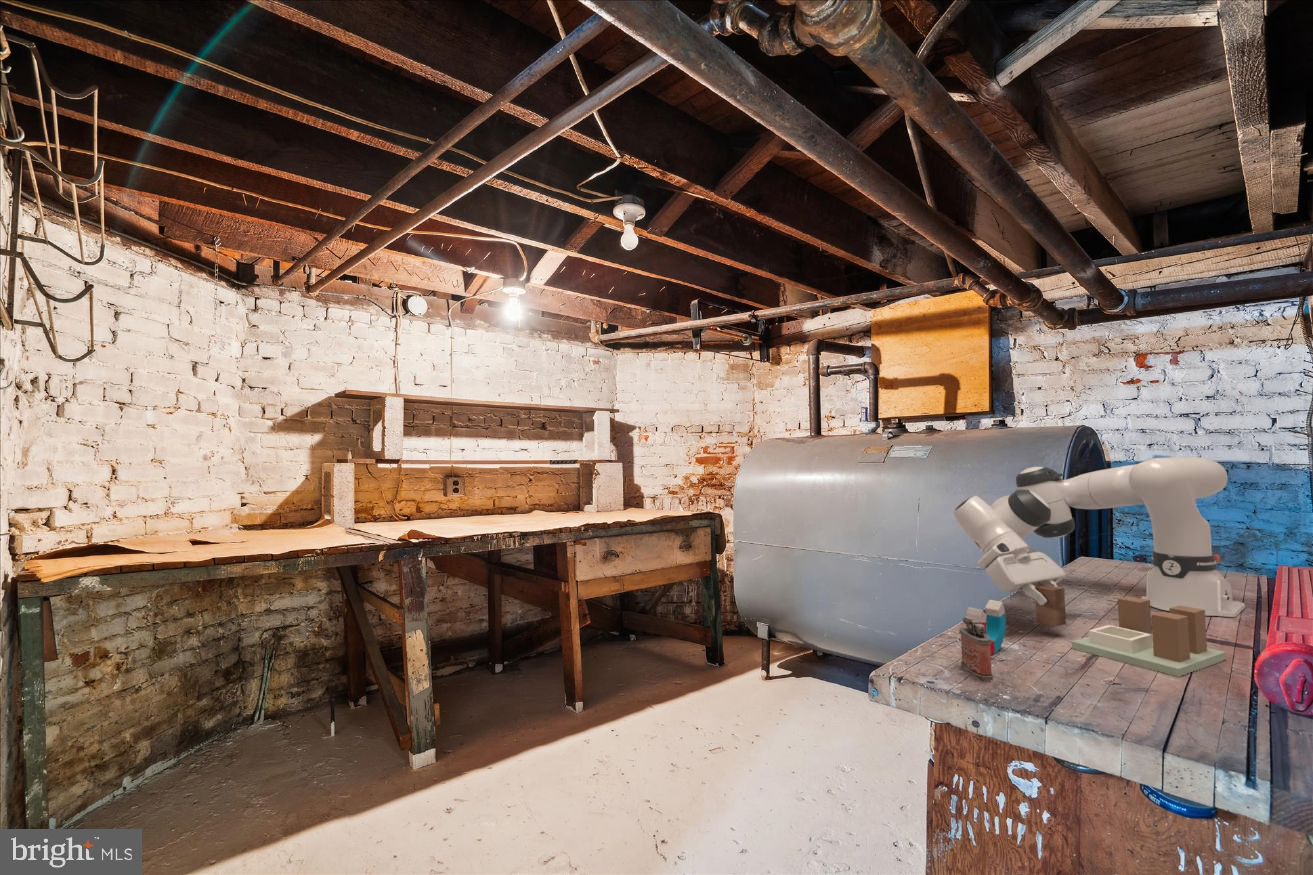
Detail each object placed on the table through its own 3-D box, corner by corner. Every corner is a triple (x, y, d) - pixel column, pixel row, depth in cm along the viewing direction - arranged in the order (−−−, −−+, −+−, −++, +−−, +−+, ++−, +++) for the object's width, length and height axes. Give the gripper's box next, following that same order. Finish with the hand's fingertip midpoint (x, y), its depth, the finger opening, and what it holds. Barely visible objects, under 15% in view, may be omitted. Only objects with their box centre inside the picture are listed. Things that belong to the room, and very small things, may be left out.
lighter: (997, 681, 105) (995, 626, 105) (979, 681, 105) (976, 626, 105) (974, 664, 113) (971, 613, 113) (956, 665, 113) (954, 614, 113)
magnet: (993, 644, 124) (991, 598, 124) (1007, 648, 122) (1005, 600, 122) (967, 657, 117) (964, 608, 117) (981, 660, 115) (978, 610, 115)
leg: (1047, 619, 132) (1045, 584, 132) (1066, 624, 128) (1064, 588, 129) (1036, 622, 130) (1034, 586, 131) (1055, 626, 127) (1053, 590, 127)
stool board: (1119, 634, 128) (1116, 592, 128) (1225, 659, 112) (1222, 610, 112) (1071, 648, 120) (1069, 603, 121) (1179, 677, 104) (1176, 624, 104)
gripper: (1026, 556, 145) (1070, 603, 135) (972, 564, 136) (1015, 615, 127) (1043, 540, 141) (1090, 588, 132) (989, 548, 132) (1034, 599, 123)
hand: (1053, 601), depth 129 cm, fingers closed on leg, 4 cm apart
